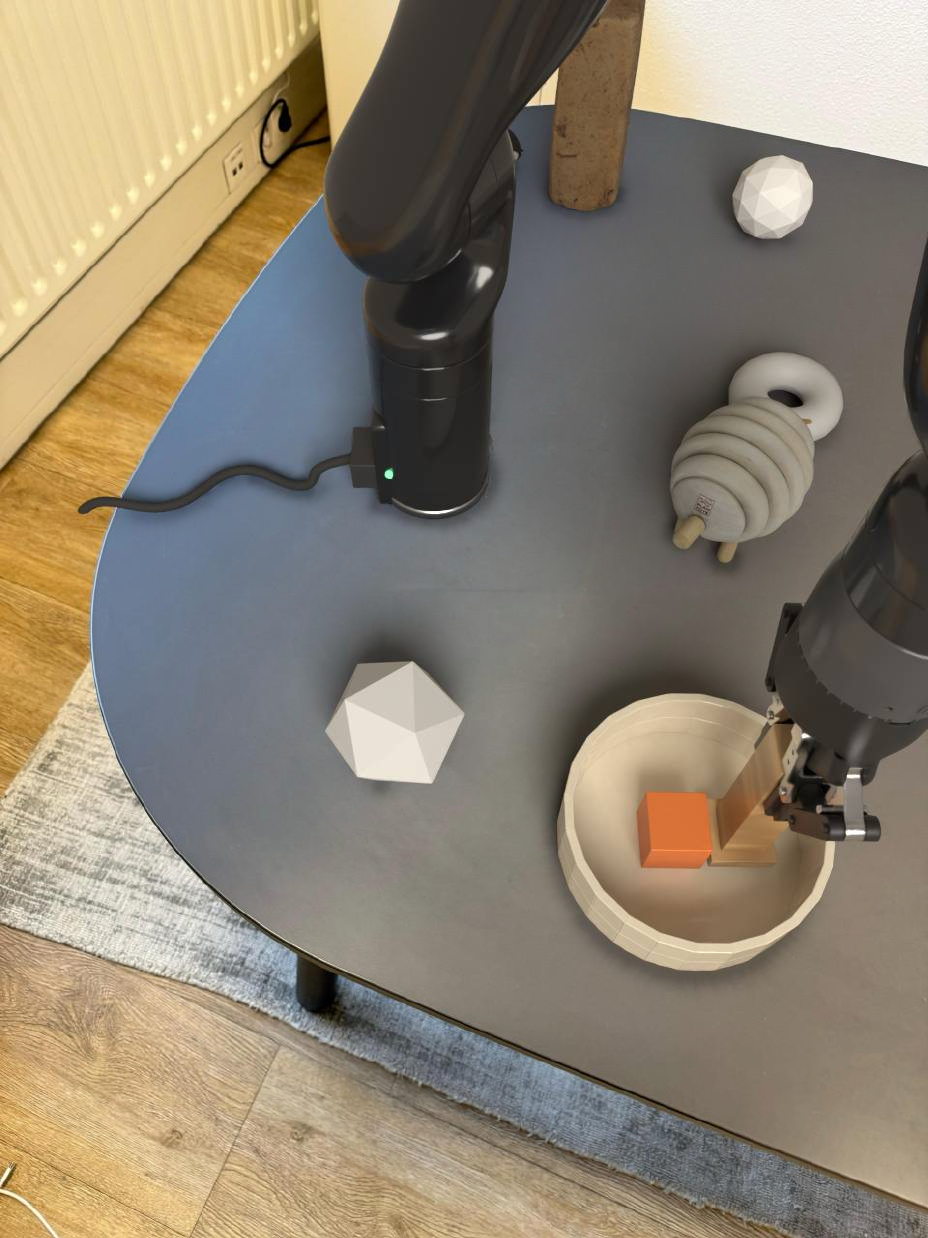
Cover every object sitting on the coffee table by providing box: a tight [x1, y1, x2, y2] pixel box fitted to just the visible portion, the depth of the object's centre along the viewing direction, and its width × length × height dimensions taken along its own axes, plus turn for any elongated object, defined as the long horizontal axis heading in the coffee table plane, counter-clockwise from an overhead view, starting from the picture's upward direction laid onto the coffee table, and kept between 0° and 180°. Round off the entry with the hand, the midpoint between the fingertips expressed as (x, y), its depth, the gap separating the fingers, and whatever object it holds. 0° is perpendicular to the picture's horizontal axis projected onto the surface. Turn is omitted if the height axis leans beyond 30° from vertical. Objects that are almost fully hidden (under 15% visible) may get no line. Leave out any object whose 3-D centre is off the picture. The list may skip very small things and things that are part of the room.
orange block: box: [637, 792, 713, 869], centre depth 65 cm, size 4×4×4 cm
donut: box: [728, 351, 844, 442], centre depth 86 cm, size 10×4×10 cm
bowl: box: [556, 692, 836, 972], centre depth 65 cm, size 17×17×6 cm
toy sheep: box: [669, 396, 816, 563], centre depth 76 cm, size 11×17×11 cm, turn 147°
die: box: [324, 660, 466, 785], centre depth 67 cm, size 8×9×10 cm
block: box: [548, 0, 647, 212], centre depth 95 cm, size 11×8×20 cm
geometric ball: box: [731, 154, 814, 240], centre depth 97 cm, size 8×8×8 cm
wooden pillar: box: [707, 724, 794, 867], centre depth 60 cm, size 4×4×15 cm
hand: (776, 781), depth 57 cm, fingers closed on wooden pillar, 3 cm apart
